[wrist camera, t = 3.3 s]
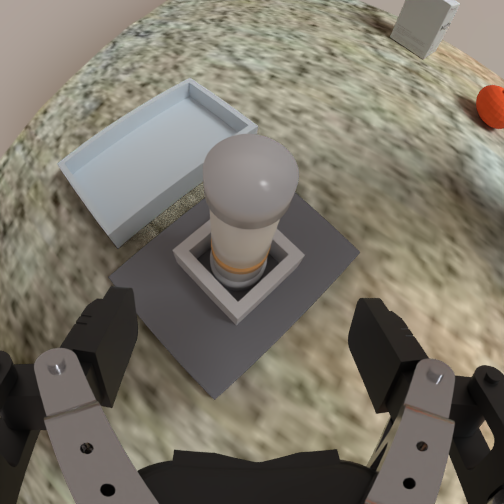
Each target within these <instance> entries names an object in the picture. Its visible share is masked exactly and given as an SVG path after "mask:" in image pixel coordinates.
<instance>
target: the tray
mask: <svg viewBox="0 0 504 504" xmlns="http://www.w3.org/2000/svg"><path fill="white" fill-rule="evenodd" d="M257 130H258V126H257V125H256V124H255V123H253V122H252V121H251V120H249V119H248V118H247V117H245V116H244V115H243V114H241V113H240V112H239V111H237V110H236V109H235V108H233V107H232V106H230V105H229V104H228V103H226V102H225V101H223V100H222V99H221V98H219V97H218V96H216V95H215V94H213V93H212V92H211V91H209V90H208V89H206V88H205V87H203V86H202V85H200V84H199V83H197V82H196V81H194V80H193V79H191V78H188V79H186V80H185V81H183V82H181V83H179V84H177V85H175V86H173V87H172V88H170V89H168V90H166V91H164V92H163V93H161V94H159V95H157V96H156V97H154V98H152V99H150V100H149V101H147V102H145V103H144V104H142V105H140V106H139V107H137V108H135V109H134V110H132V111H131V112H129V113H127V114H126V115H124V116H123V117H121V118H120V119H118V120H117V121H115V122H114V123H112V124H111V125H109V126H108V127H106V128H105V129H103V130H102V131H100V132H99V133H97V134H96V135H95V136H93V137H92V138H90V139H89V140H87V141H86V142H85V143H83V144H82V145H81V146H79V147H78V148H77V149H75V150H74V151H73V152H71V153H70V154H69V155H67V156H66V157H65V158H63V159H62V160H61V161H60V162H58V163H57V164H58V166H59V168H60V169H61V171H62V172H63V174H64V175H65V177H66V178H67V180H68V181H69V183H70V184H71V186H72V187H73V189H74V190H75V191H76V193H77V194H78V196H79V197H80V199H81V200H82V201H83V203H84V204H85V206H86V207H87V208H88V210H89V211H90V212H91V214H92V215H93V217H94V218H95V219H96V221H97V222H98V223H99V225H100V226H101V227H102V229H103V230H104V231H105V233H106V234H107V235H108V237H109V238H110V239H111V240H112V242H113V243H114V244H115V246H116V247H117V248H119V247H120V246H122V245H123V244H124V243H125V242H126V241H128V240H129V239H130V238H131V237H132V236H134V235H135V234H136V233H137V232H138V231H140V230H141V229H142V228H143V227H145V226H146V225H147V224H148V223H150V222H151V221H152V220H153V219H155V218H156V217H157V216H158V215H160V214H161V213H162V212H163V211H165V210H166V209H167V208H169V207H170V206H171V205H172V204H174V203H175V202H176V201H178V200H179V199H180V198H182V197H183V196H184V195H185V194H187V193H188V192H189V191H191V190H192V189H193V188H195V187H196V186H197V185H199V184H200V183H202V182H203V164H204V160H205V158H206V156H207V154H208V152H209V151H210V150H211V149H212V148H213V147H214V146H215V145H216V144H217V143H219V142H220V141H222V140H224V139H226V138H228V137H231V136H234V135H239V134H257Z"/></svg>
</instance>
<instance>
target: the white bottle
mask: <svg viewBox="0 0 504 504" xmlns="http://www.w3.org/2000/svg"><path fill="white" fill-rule="evenodd" d="M298 180H299V170H298V166H297V163H296V161H295V159H294V157H293V155H292V154H291V153H290V152H289V150H288V149H287V148H285V147H284V146H283V145H282V144H280V143H279V142H277V141H275V140H273V139H271V138H269V137H266V136H262V135H257V134H239V135H234V136H231V137H228V138H226V139H224V140H222V141H220V142H219V143H217V144H216V145H215V146H214V147H213V148H212V149H211V150H210V151H209V152H208V154H207V156H206V158H205V160H204V164H203V183H204V195H205V200H206V203H207V205H208V207H209V208H210V224H211V252H210V265H211V271H212V274H213V277H214V278H215V279H216V280H217V281H218V282H219V283H220V284H221V285H222V286H223V287H224V288H226V289H229V290H233V291H243V290H247V289H249V288H251V287H253V286H254V285H256V284H257V283H258V282H259V280H260V279H261V277H262V275H263V273H264V270H265V268H266V264H267V256H268V253H269V250H270V246H271V243H272V240H273V237H274V234H275V232H276V229H277V226H278V223H279V220H280V218H281V217H282V216H283V215H284V214H285V213H286V211H287V210H288V208H289V206H290V203H291V201H292V198H293V195H294V193H295V190H296V187H297V185H298Z"/></svg>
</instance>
